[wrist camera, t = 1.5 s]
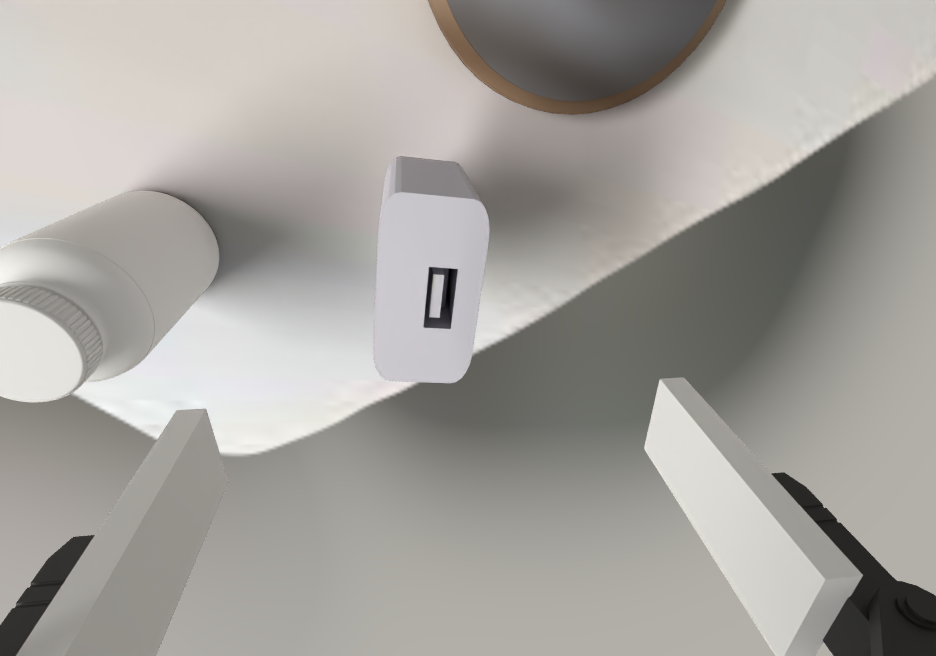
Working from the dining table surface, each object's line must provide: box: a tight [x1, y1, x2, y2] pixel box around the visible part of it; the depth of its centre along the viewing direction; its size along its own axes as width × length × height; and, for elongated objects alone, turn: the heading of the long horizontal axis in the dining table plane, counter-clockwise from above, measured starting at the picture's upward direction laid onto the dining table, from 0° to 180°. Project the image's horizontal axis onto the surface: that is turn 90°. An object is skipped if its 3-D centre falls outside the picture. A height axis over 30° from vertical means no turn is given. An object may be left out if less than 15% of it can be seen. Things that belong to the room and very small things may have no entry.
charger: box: [373, 156, 490, 383], centre depth 29 cm, size 5×9×15 cm, turn 173°
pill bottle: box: [0, 191, 220, 402], centre depth 28 cm, size 8×8×15 cm
